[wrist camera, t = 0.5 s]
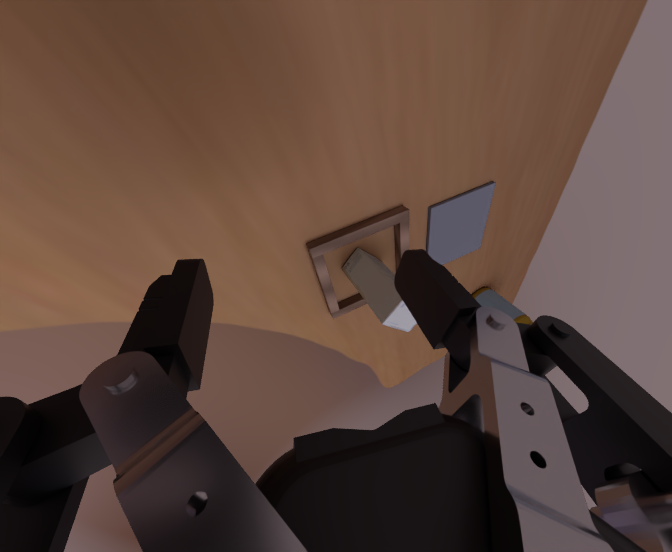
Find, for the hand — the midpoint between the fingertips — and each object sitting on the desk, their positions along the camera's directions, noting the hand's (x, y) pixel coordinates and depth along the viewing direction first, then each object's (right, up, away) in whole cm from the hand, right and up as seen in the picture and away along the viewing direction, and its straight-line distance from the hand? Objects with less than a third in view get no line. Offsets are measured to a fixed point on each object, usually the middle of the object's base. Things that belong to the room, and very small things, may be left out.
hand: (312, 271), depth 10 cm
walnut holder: (+5, +2, +29) cm, 29 cm away
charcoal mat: (+22, +8, +32) cm, 40 cm away
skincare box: (+5, +2, +29) cm, 30 cm away
